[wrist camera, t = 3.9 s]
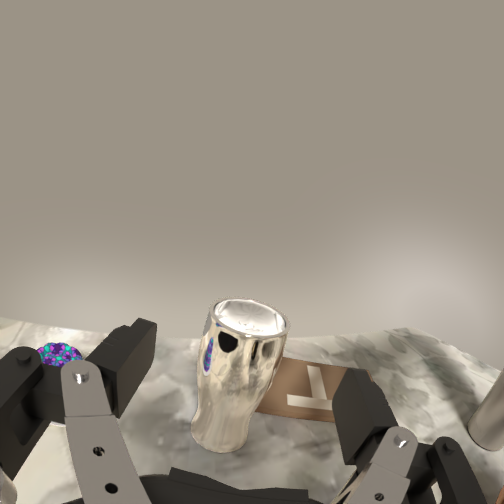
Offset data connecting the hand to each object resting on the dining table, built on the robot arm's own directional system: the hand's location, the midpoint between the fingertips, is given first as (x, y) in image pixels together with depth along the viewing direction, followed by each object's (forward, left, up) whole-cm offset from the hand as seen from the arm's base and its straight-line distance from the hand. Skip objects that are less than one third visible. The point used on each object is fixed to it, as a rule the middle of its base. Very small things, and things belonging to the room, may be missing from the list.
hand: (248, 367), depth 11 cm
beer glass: (0, -11, -18) cm, 22 cm away
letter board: (-12, -22, -18) cm, 31 cm away
